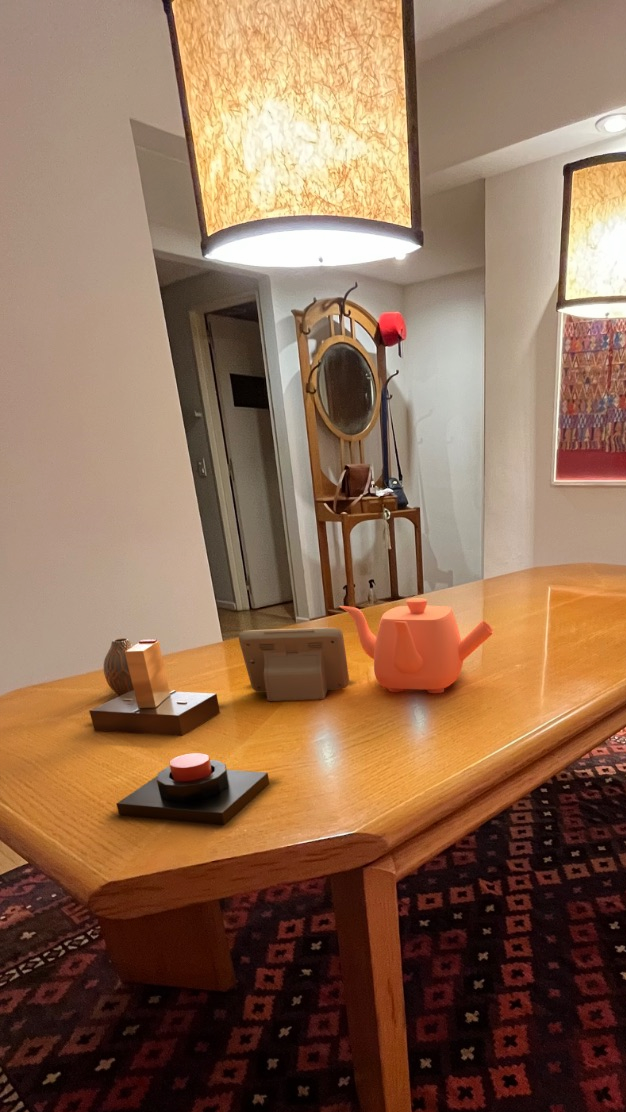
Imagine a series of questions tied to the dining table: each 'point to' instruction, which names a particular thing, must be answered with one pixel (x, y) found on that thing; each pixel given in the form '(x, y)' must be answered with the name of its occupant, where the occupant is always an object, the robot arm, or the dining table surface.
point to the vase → (118, 667)
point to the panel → (156, 714)
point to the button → (190, 767)
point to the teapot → (417, 645)
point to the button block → (195, 796)
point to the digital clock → (295, 662)
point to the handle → (147, 673)
